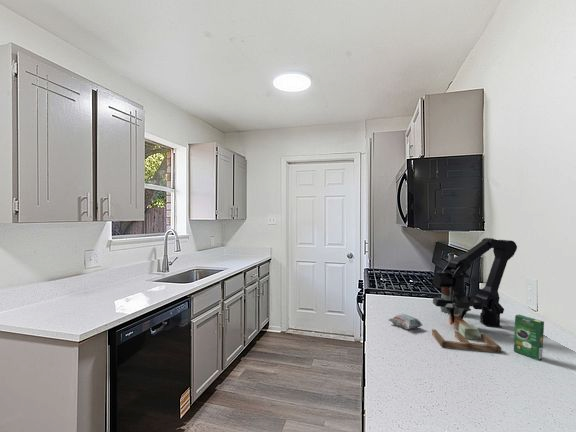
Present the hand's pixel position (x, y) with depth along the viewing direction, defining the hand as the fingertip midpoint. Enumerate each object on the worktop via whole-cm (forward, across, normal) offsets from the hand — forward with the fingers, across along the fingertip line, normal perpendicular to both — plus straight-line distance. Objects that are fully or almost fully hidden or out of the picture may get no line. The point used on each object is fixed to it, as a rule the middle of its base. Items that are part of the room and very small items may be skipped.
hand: (456, 322), depth 137 cm
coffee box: (+2, +14, -28) cm, 31 cm away
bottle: (+1, +4, +22) cm, 22 cm away
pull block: (+1, 0, -6) cm, 6 cm away
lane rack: (+1, -4, -21) cm, 21 cm away
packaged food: (+2, -23, -8) cm, 25 cm away
